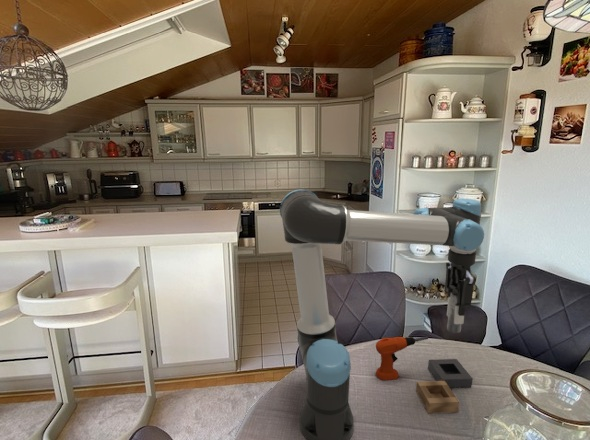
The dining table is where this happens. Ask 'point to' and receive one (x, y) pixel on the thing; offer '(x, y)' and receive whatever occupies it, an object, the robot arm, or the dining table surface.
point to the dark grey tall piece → (453, 309)
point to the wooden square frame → (437, 397)
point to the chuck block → (450, 373)
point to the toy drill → (392, 355)
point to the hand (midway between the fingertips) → (454, 319)
